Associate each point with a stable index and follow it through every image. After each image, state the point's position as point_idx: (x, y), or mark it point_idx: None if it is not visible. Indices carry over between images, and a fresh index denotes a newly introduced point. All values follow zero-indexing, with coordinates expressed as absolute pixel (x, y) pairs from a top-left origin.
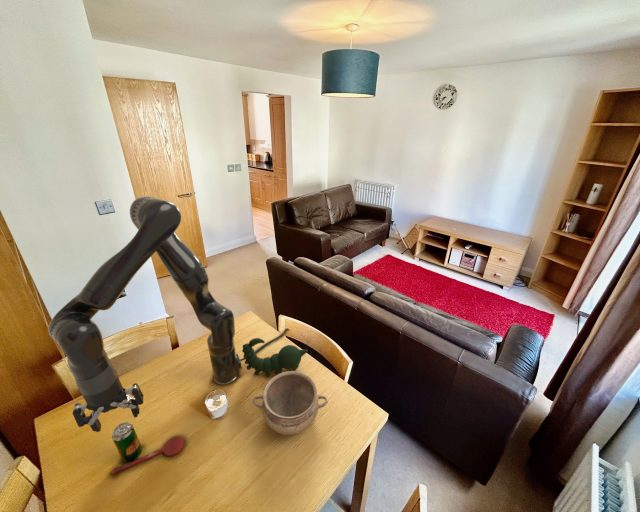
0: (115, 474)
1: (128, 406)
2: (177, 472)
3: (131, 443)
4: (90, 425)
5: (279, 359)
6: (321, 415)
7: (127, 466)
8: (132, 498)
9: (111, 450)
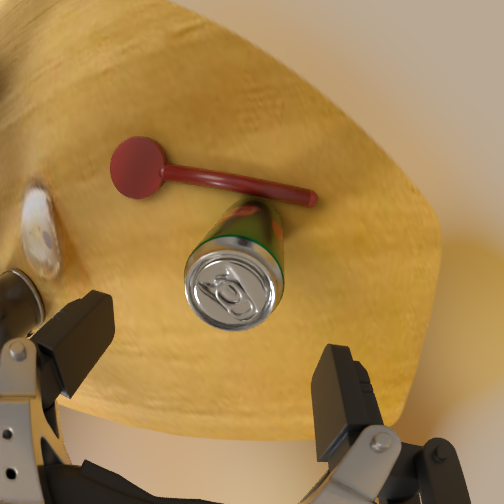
0: (309, 190)
1: (20, 389)
2: (150, 81)
3: (223, 220)
4: (378, 418)
5: None
6: None
7: (271, 185)
8: (275, 81)
9: (305, 284)
